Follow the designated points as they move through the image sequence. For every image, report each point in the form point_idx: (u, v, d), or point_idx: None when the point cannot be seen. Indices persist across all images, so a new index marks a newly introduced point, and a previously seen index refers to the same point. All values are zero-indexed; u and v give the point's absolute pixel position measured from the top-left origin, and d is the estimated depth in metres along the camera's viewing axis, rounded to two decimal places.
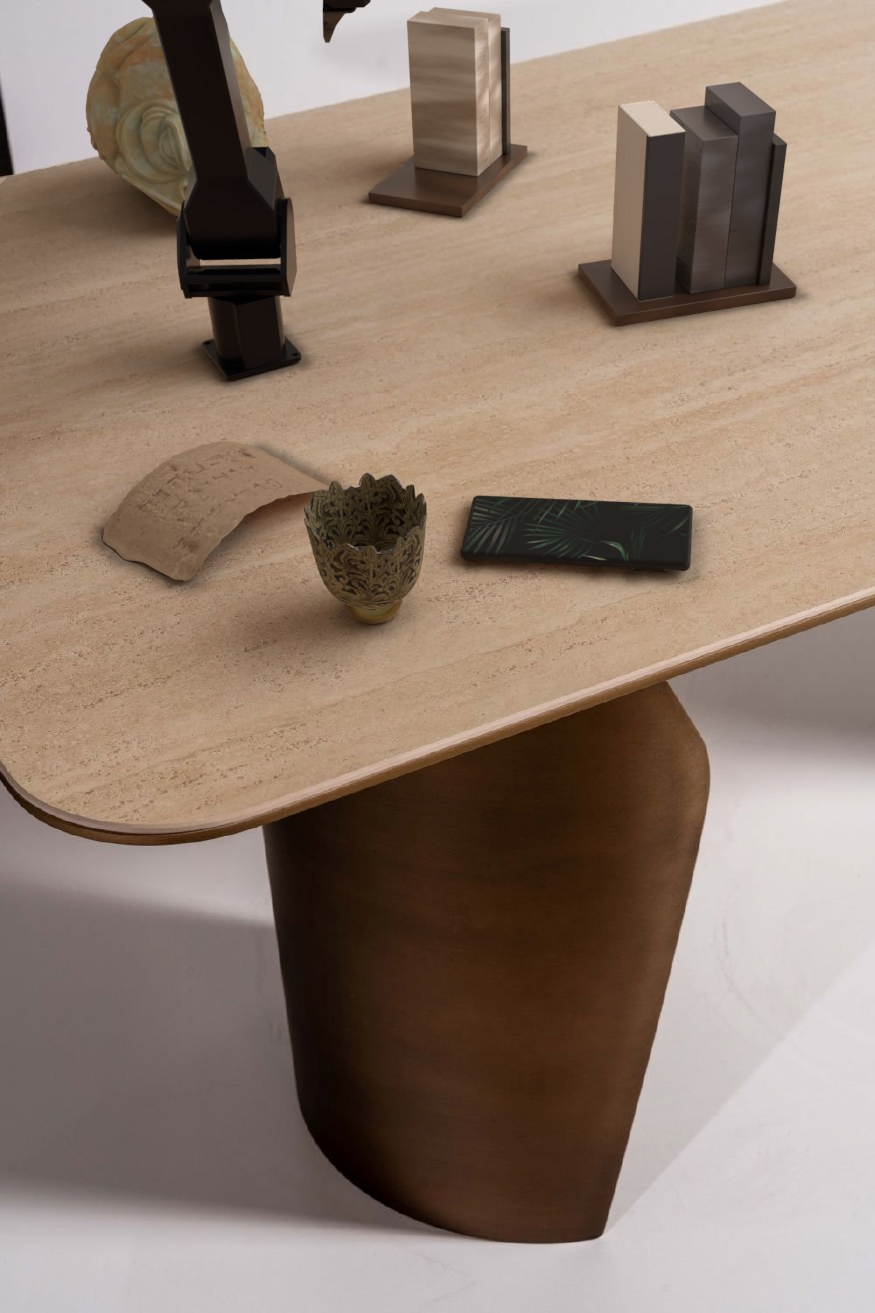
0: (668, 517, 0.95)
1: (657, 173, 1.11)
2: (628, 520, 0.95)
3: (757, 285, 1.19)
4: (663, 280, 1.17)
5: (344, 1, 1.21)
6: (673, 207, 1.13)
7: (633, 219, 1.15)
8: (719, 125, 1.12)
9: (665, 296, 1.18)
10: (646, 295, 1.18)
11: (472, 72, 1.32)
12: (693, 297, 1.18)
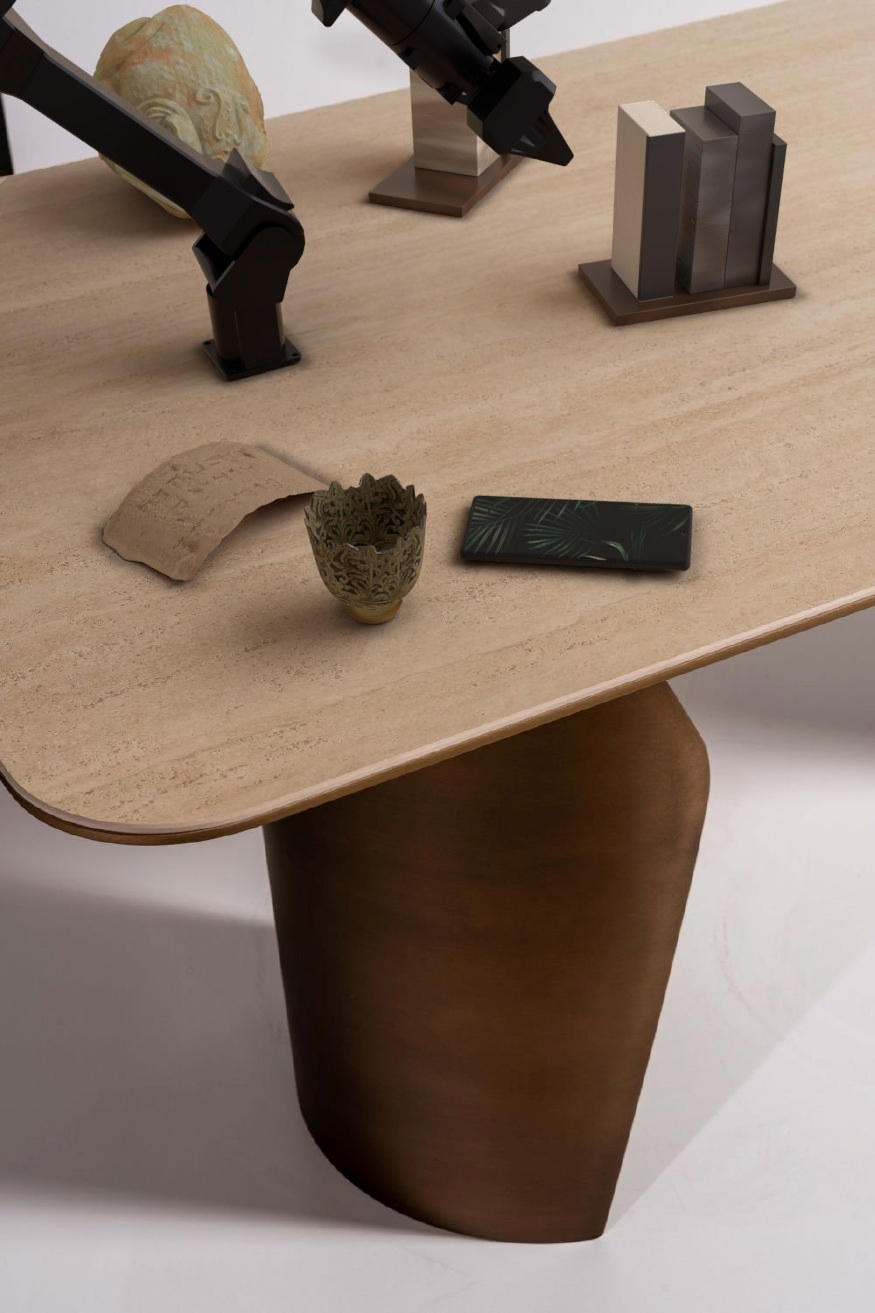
0: (668, 517, 0.95)
1: (657, 173, 1.11)
2: (628, 520, 0.95)
3: (757, 285, 1.19)
4: (663, 280, 1.17)
5: None
6: (673, 207, 1.13)
7: (633, 219, 1.15)
8: (719, 125, 1.12)
9: (665, 296, 1.18)
10: (646, 295, 1.18)
11: None
12: (693, 297, 1.18)
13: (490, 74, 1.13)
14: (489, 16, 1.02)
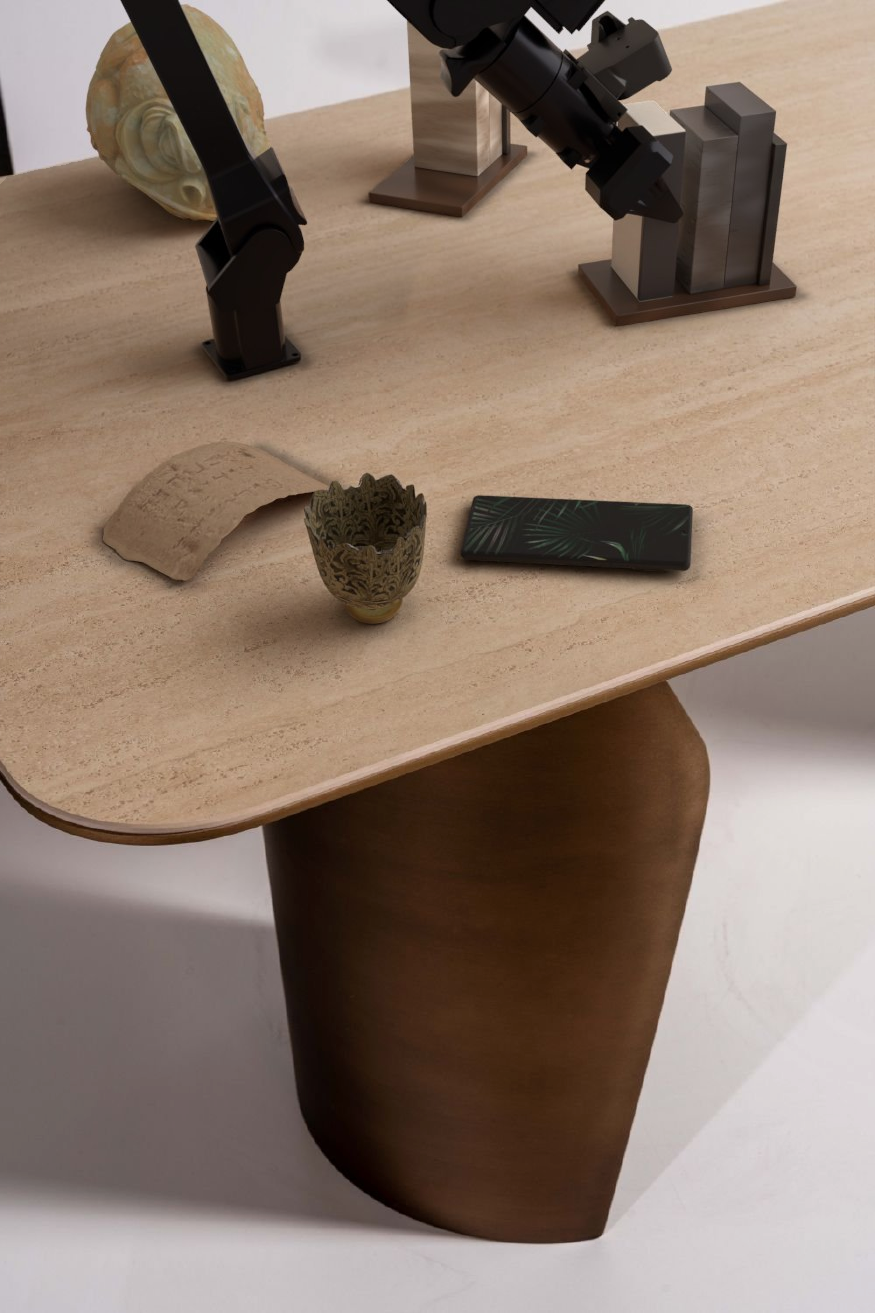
0: (668, 517, 0.95)
1: None
2: (628, 520, 0.95)
3: (757, 285, 1.19)
4: (663, 280, 1.17)
5: None
6: None
7: (633, 219, 1.15)
8: (719, 125, 1.12)
9: (665, 296, 1.18)
10: (646, 295, 1.18)
11: None
12: (693, 297, 1.18)
13: None
14: (611, 86, 1.07)
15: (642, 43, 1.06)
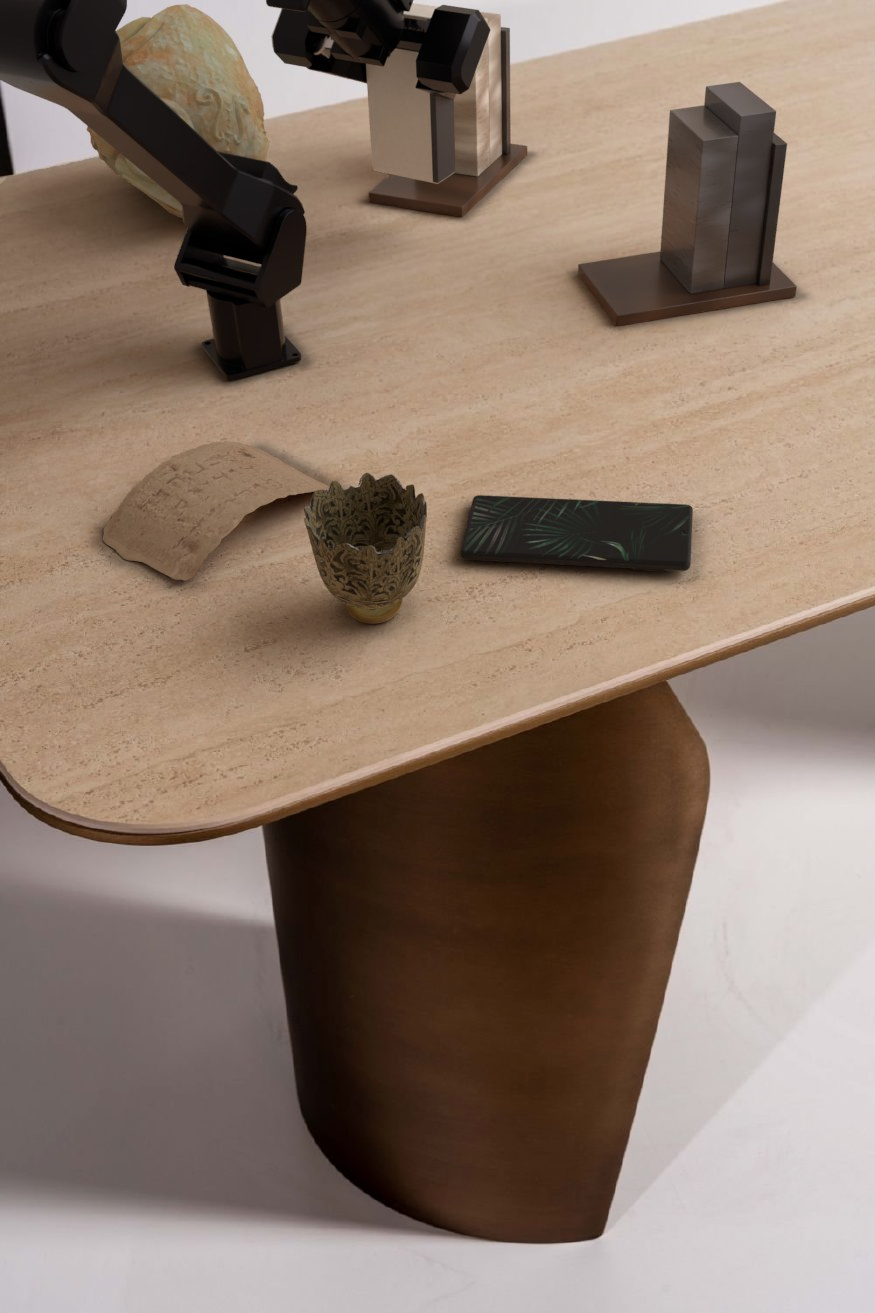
0: (668, 517, 0.95)
1: None
2: (628, 520, 0.95)
3: (757, 285, 1.19)
4: (449, 158, 1.26)
5: (439, 86, 1.14)
6: None
7: (413, 108, 1.23)
8: (719, 125, 1.12)
9: (451, 172, 1.27)
10: (441, 175, 1.26)
11: None
12: (693, 297, 1.18)
13: None
14: None
15: None
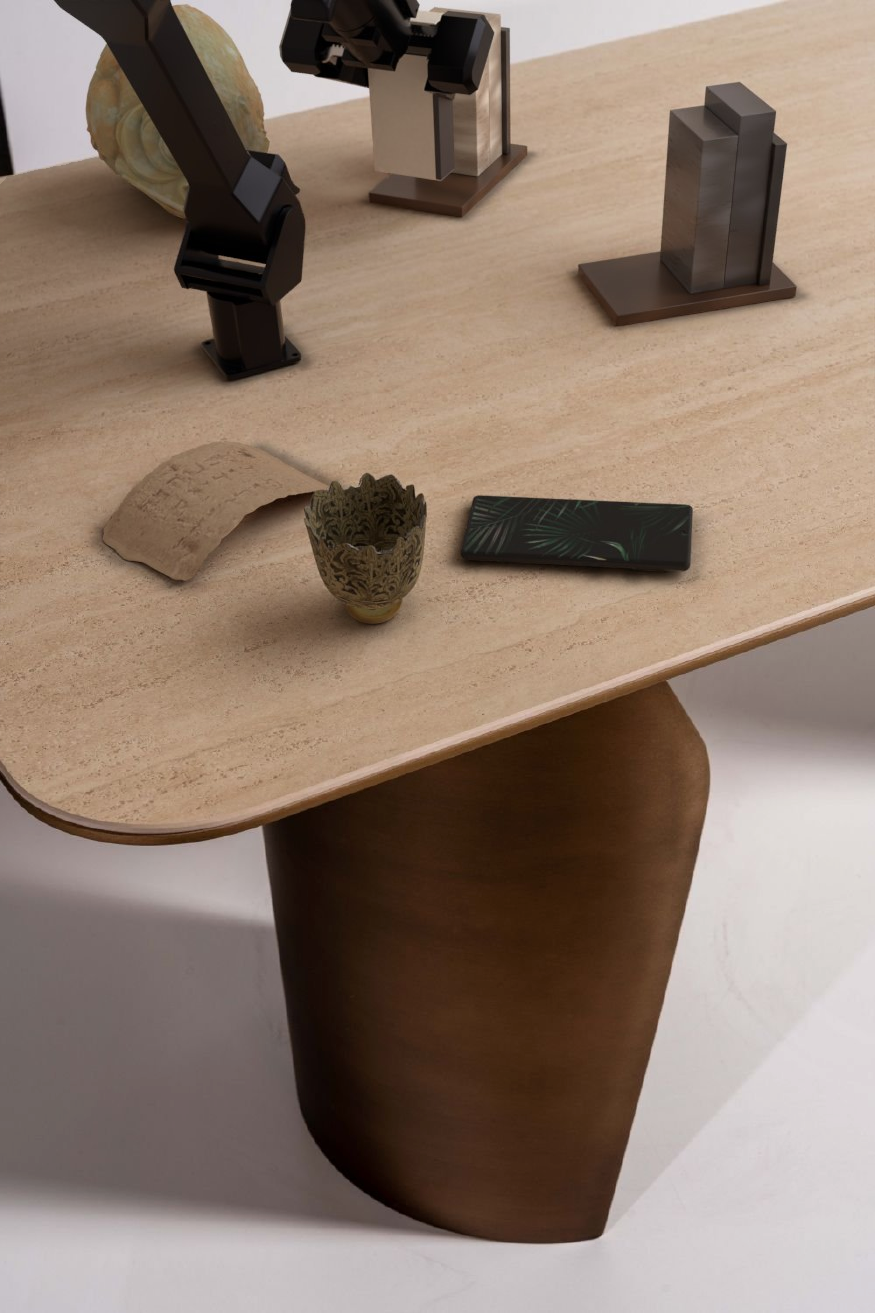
0: (668, 517, 0.95)
1: None
2: (628, 520, 0.95)
3: (757, 285, 1.19)
4: (449, 156, 1.32)
5: (450, 88, 1.20)
6: None
7: (415, 109, 1.28)
8: (719, 125, 1.12)
9: (451, 169, 1.33)
10: (443, 173, 1.32)
11: None
12: (693, 297, 1.18)
13: None
14: None
15: None
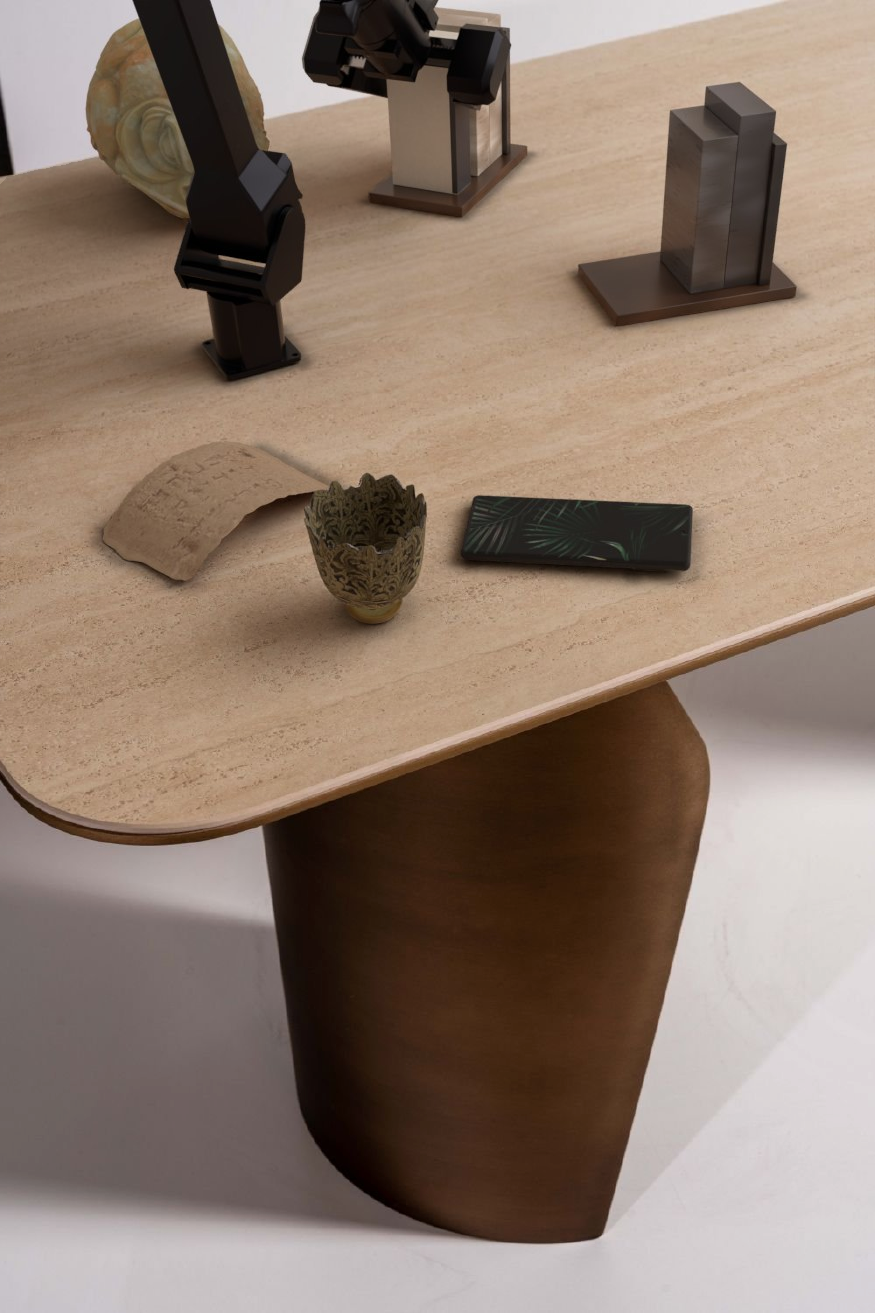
0: (668, 517, 0.95)
1: None
2: (628, 520, 0.95)
3: (757, 285, 1.19)
4: (465, 170, 1.36)
5: (468, 99, 1.24)
6: None
7: (433, 126, 1.32)
8: (719, 125, 1.12)
9: (468, 183, 1.37)
10: (460, 187, 1.36)
11: None
12: (693, 297, 1.18)
13: None
14: (427, 0, 1.22)
15: None
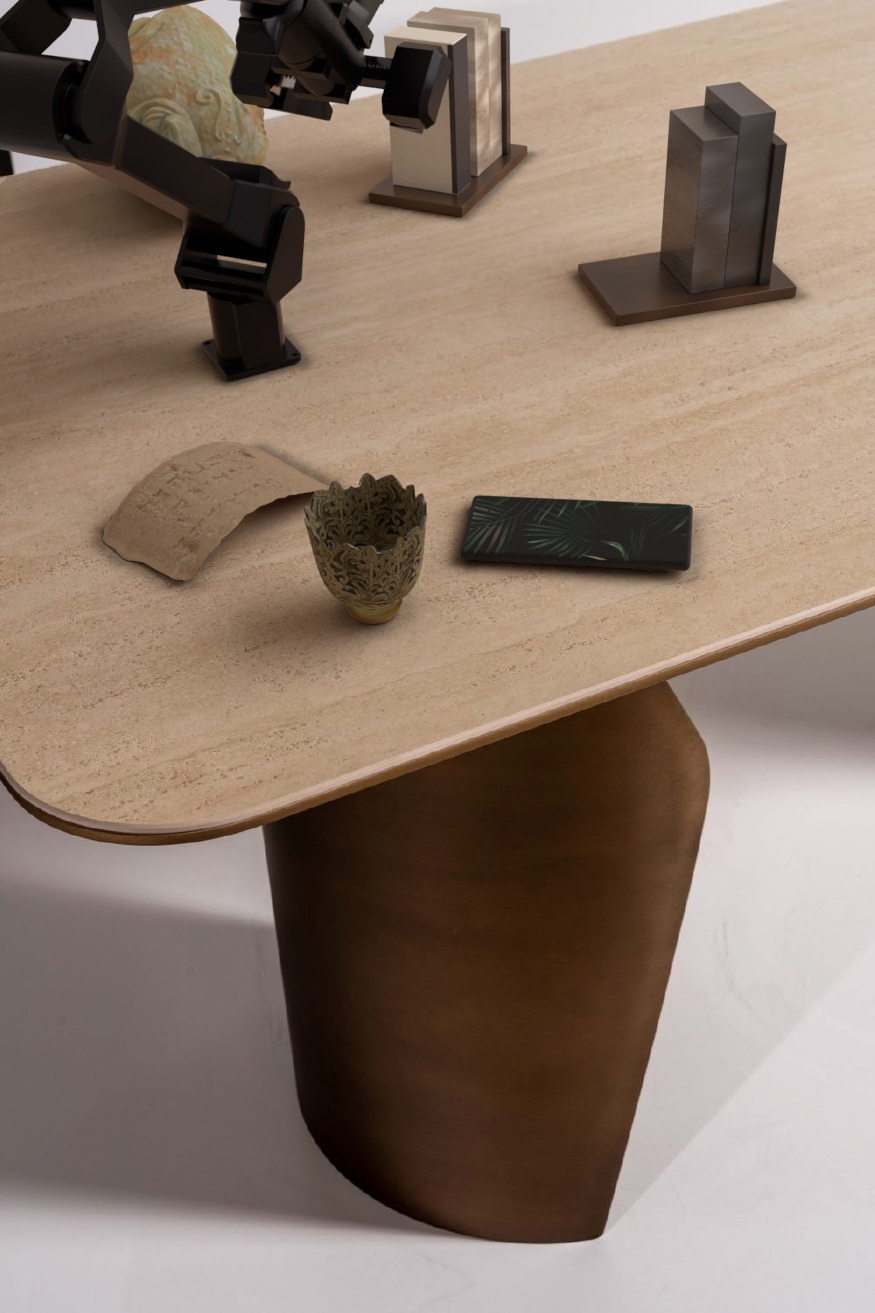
0: (668, 517, 0.95)
1: (458, 75, 1.29)
2: (628, 520, 0.95)
3: (757, 285, 1.19)
4: (465, 170, 1.36)
5: (406, 122, 1.15)
6: (465, 103, 1.32)
7: (433, 126, 1.32)
8: (719, 125, 1.12)
9: (468, 183, 1.37)
10: (460, 187, 1.36)
11: (472, 72, 1.32)
12: (693, 297, 1.18)
13: None
14: (361, 16, 1.13)
15: None
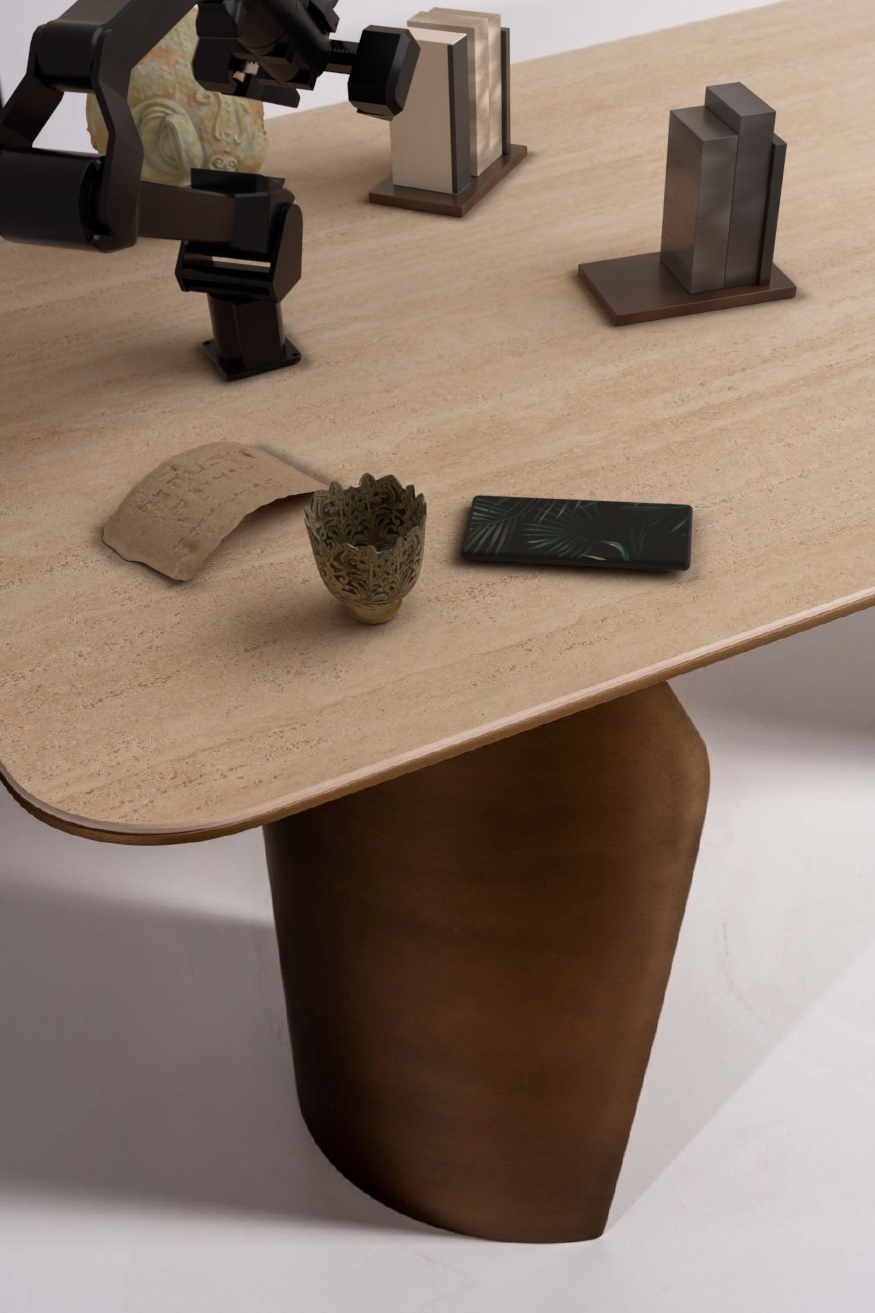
0: (668, 517, 0.95)
1: (458, 75, 1.29)
2: (628, 520, 0.95)
3: (757, 285, 1.19)
4: (465, 170, 1.36)
5: (373, 109, 1.11)
6: (465, 103, 1.32)
7: (433, 126, 1.32)
8: (719, 125, 1.12)
9: (468, 183, 1.37)
10: (460, 187, 1.36)
11: (472, 72, 1.32)
12: (693, 297, 1.18)
13: None
14: None
15: None
